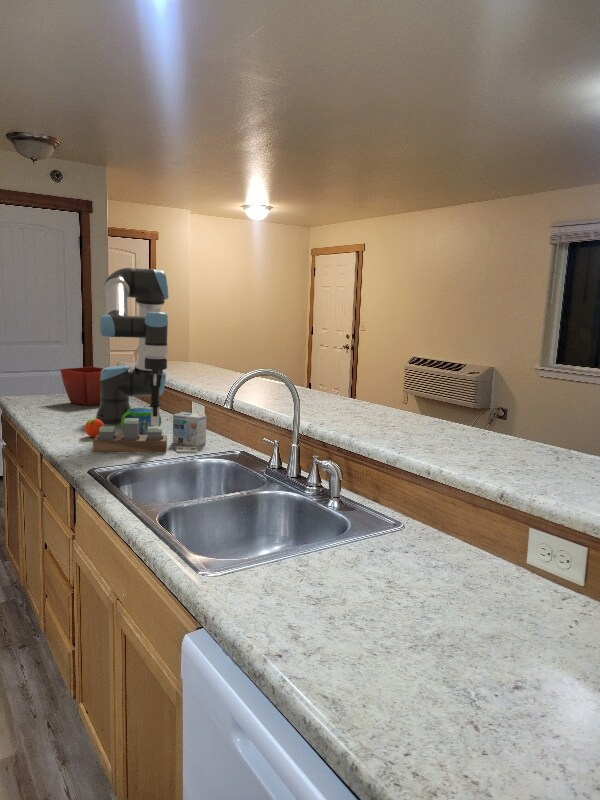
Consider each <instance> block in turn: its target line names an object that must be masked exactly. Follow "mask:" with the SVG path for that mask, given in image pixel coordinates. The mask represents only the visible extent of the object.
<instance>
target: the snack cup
mask: <svg viewBox="0 0 600 800" xmlns="http://www.w3.org/2000/svg"><path fill="white" fill-rule="evenodd" d="M127 415H128V418H139V435H148V427H154V425H151V408H149V407H148V408H146V407H137V408H135V407H134V408H131V409H128V410H127V412H126V413H124V415H123V416H122V419H121V423H120V426H121V429H122V430H124V419H125V417H126V416H127ZM161 418H162V416H161V414H160V413H159V426H158V427H161V426H162V425H161V424H162V419H161Z"/></svg>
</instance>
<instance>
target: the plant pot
mask: <svg viewBox="0 0 600 800" xmlns="http://www.w3.org/2000/svg"><path fill="white" fill-rule="evenodd" d="M102 369H104V367H97V366H83V367H82V366H81V367H72V368H71V367H70V368H60V375H61V379H62V382H63V387H64V389H65V392H66V394H67V397H68V400H69V402H70V403H71V404H74V403H76V405H79V404H82V405H81V406H84V405H90V406H96V405H95V404H97V405H100V402H101V380H100V378H101V370H102Z"/></svg>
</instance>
